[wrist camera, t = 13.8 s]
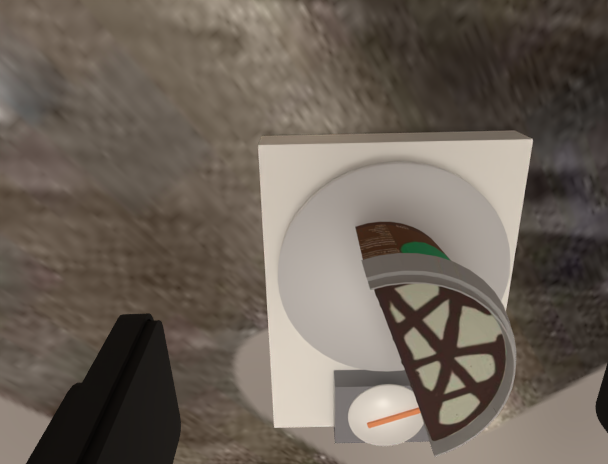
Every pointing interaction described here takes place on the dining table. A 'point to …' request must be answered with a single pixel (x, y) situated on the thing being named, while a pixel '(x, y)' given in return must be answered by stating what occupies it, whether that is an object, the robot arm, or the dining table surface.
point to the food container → (441, 331)
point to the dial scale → (347, 259)
